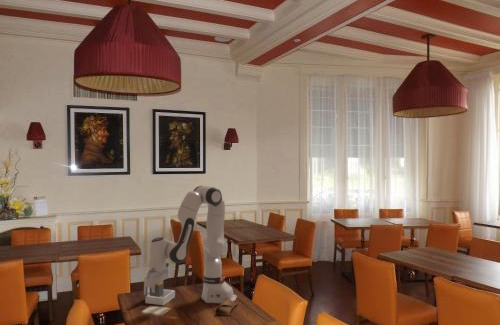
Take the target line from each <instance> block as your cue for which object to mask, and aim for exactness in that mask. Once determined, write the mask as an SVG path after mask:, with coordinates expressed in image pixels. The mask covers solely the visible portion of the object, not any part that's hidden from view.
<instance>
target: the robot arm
mask: <svg viewBox="0 0 500 325" xmlns="http://www.w3.org/2000/svg"><path fill="white" fill-rule="evenodd" d="M202 204H204V205H207V214H206V225H205V226H206V235H205V236H204V237H203V239H202V254H203V264H204V265H203V275H202V276H203V278H202V283H203V287H202V294H201V297H200V298H201V300H202V301H203V302H205V303H206V304H221V303H222V302H223V301H224V300H225V299H226V298H228V299H229V300H231V301H234V302H235V301H237V299H236V298H238V296H237V294H234V289H233V287H232V286H230V284H228V283H227V282H225V279H226V276H225V275H224V276H223V275H222V270H223V269H222V268H223V267H222V264H223V262H222V259H221V256H222V255H223V253H224V252H225V249H226V248H225V232H224V231H225V230H224V228H225V227H224V226H225V217H226V216H225V215H226V214H225V213H226V205H225V204H226V203H225V200H224V199H223V194H222V192H221V190H220V189H219V188H217V187H213V186H210V185H198V186H196V187H195V188H194V190H193V191H191V190H190V191H188V192H187V193H186V194H185V197H184V198H183V200H182V202H181V204H180V206H179V208H178V211H177V219H178V221H179V223H180V225H181V232H180V235H179V238H178V241H177V242H175V241H170V240H167V239H166V238H165V237H161V236H160V237H155V238H153V239H152V240H151V241H150V245H149V264H148V265H149V267H148V268H149V269H148V271H147V273H146V275H145V276H146V280H145V286H146V287H151V289H152V292H153V293H154V292H156V289H155V285H156V284H158V283H159V282H164V281H165V280H167V279H168V277H169V267H170V263H169V262H167V261H166V260H167V259H168V260H171V261H172V262H173V263H174V264H182V263H183V262H184V261H186V259H187V258H188V254H189V251H188V250H189V246H190V242H191V238H192V235H193V232H194V228H195V221H196V217H197V215H198V212H199V210H200V207H201V206H202Z"/></svg>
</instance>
